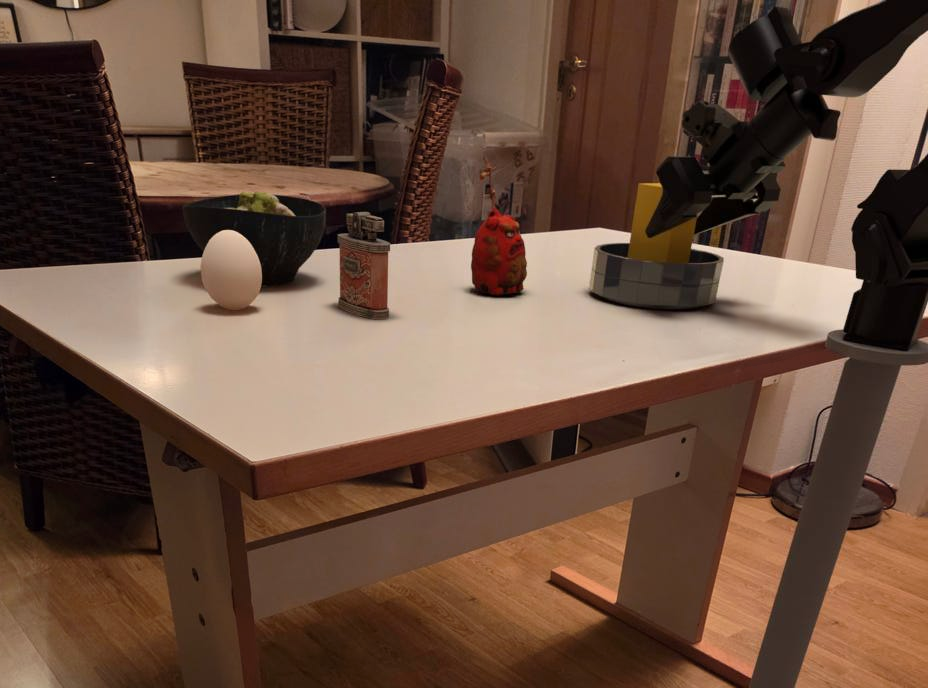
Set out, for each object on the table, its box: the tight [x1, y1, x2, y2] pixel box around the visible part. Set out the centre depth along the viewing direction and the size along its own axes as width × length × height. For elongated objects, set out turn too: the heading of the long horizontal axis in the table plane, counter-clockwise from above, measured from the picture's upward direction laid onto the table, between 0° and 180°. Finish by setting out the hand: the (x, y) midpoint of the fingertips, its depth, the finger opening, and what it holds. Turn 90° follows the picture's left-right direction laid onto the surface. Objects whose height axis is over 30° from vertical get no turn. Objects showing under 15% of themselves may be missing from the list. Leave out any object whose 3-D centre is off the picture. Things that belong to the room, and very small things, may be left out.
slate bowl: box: [588, 242, 725, 311], centre depth 111 cm, size 16×16×6 cm
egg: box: [200, 230, 262, 311], centre depth 92 cm, size 6×6×8 cm
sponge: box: [627, 182, 699, 263], centre depth 109 cm, size 6×5×12 cm
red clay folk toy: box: [470, 156, 528, 297], centre depth 107 cm, size 8×7×15 cm
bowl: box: [181, 191, 327, 287], centre depth 106 cm, size 17×17×10 cm
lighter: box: [337, 211, 391, 320], centre depth 94 cm, size 8×3×10 cm, turn 37°
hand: (670, 233), depth 108 cm, fingers open, 9 cm apart
